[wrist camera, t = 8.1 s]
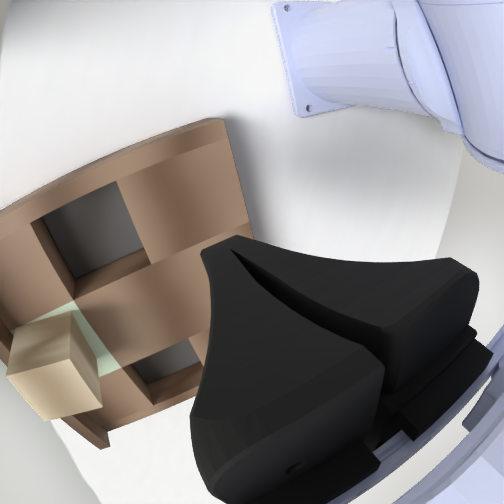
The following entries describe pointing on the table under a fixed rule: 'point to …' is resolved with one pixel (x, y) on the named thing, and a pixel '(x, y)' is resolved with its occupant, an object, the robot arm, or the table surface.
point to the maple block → (54, 367)
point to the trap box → (127, 265)
